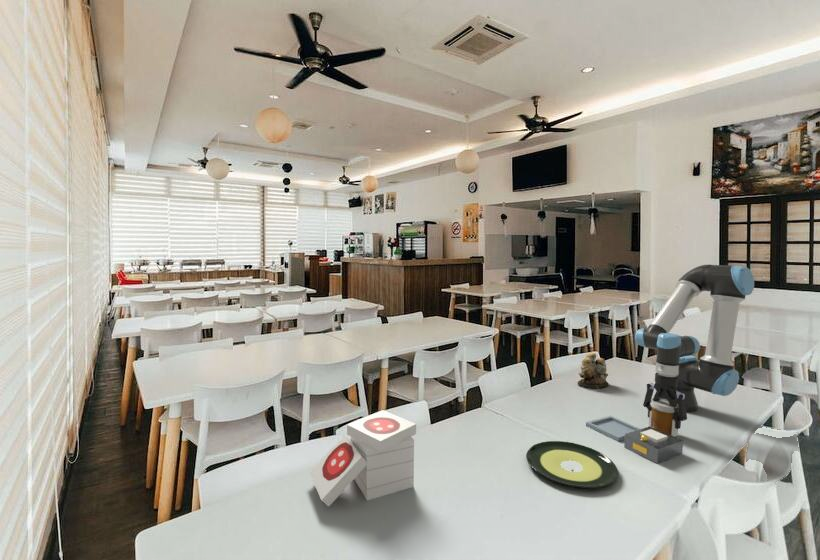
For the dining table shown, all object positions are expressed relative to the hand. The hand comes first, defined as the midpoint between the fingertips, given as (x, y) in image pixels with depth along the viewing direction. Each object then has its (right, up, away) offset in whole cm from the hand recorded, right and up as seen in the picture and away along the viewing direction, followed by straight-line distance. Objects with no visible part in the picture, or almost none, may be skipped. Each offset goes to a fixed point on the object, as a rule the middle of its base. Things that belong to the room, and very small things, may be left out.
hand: (662, 431), depth 157 cm
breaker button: (-12, -1, -14) cm, 18 cm away
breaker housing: (-12, -2, -14) cm, 18 cm away
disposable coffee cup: (0, -1, 0) cm, 1 cm away
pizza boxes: (-112, -3, -35) cm, 117 cm away
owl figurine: (-4, +4, +53) cm, 53 cm away
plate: (-46, -3, -25) cm, 52 cm away
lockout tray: (-18, 0, +2) cm, 18 cm away
